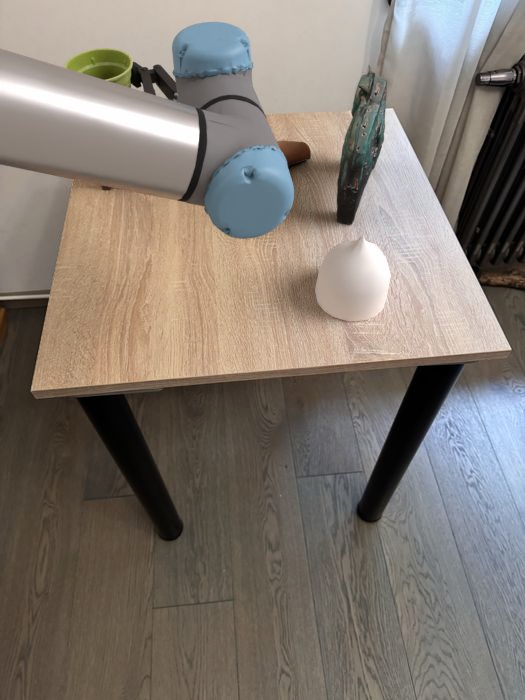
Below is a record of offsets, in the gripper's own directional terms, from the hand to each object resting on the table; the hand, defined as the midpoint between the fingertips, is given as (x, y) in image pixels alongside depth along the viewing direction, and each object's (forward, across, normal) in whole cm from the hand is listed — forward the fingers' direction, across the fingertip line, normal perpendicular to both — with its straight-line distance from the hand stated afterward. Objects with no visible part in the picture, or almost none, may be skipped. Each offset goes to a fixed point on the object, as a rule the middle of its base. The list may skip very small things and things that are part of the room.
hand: (87, 70), depth 74 cm
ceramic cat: (-26, +33, -22) cm, 48 cm away
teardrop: (-43, +15, -22) cm, 51 cm away
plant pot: (-5, 0, -6) cm, 8 cm away
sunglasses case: (-9, +24, -22) cm, 34 cm away
